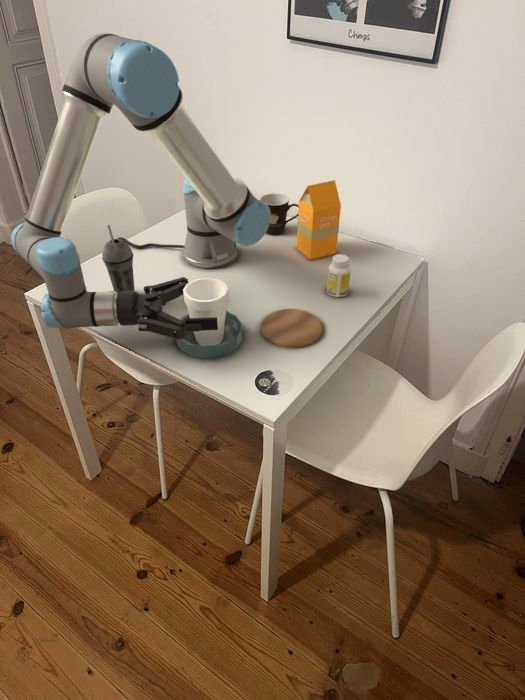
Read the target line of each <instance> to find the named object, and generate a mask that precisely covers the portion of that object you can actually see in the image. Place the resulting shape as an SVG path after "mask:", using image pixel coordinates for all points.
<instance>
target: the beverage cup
mask: <svg viewBox="0 0 525 700" xmlns="http://www.w3.org/2000/svg"><path fill="white" fill-rule="evenodd" d="M107 229H108V233H109V237H110V240H109V241H107V242H106V243H105V244H104V246H103V248H102V254H101V256H102V257H101V259H102V261H103V263H104V266H105V267H106V270H107V273H108V277H109V279H110V282H111V286H112V290H113V291H116V292H117V294H118V292H119V291H136V290H135V279H134V267H133V263H134V253H133V250H132V248H131V246H130V245H129V244H127V243H126V242H125V241H123V240H120V239H117V238H114V235H113V231H112V228H111V225H110V224H107Z"/></svg>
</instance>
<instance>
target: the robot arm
mask: <svg viewBox="0 0 525 700" xmlns="http://www.w3.org/2000/svg"><path fill="white" fill-rule="evenodd" d="M179 79H180V78H179V74H178V70H177V68H176V66H175V64H174V62H173V61H172V59H171V57H169V55H168V54H166V52H164V51H163V50H162V49H160V48H159V47H158V46H155V45H153V44H152V43H149V42H147V41H143V40H139V39H132V38H128V37H124V36H120V35H118V34H114V33H107V32H106V33H99V34H95V35H92V36H91V37H90V38H88V39H86V41H85V42H84V43H83V44H82V45H81V46H80V48H79V49H78V50H77V52H76V54H75V56H74V58H73V60H72V62H71V64H70V67H69V69H68V72H67V75H66V77H65V81H64V84H63V87H62V90H61V95H62V96H63V99H64V101H63V102H64V103H63V104H62V107H61V110H60V114H59V116H58V120H57V123H56V125H55V129H54V131H53V135H52V138H51V141H50V143H49V147H48V150H47V153H46V156H45V159H44V162H43V165H42V168H41V171H40V175H39V177H38V181H37V183H36V187H35V190H34V192H33V195H32V199H31V200H30V201H31V202H30V205H29V208H28V210H27V213H26V217H25V220H24V222H22V223H19V224H18V225H17V226H16V227H15V228H14V229H13V230H12V232H11V235H10V242H11V245H12V247H13V249H14V250H15V251H16V252H17V254H18V256H19V257H20V258H21V259H23V260H24V261H26V262H27V263H28V264H29V265H30V267H31V268H32V269H34V271H35V272H36V273H37V274H38V275H40V277H42V279H43V280H44V281H43V282H44V284H45V286H46V289H47V293H45V294H44V295H43V296H42V298H41V302H40V311H41V318H42V322H43V323H44V324H45V326H46V327H49V328H52V329H65V330H66V329H67V330H69V329H78V328H91V327H92V328H93V327H95V328H97V327H117V326H118V325H120V326H122V327H132V326H133V327H134V326H137V328H138V331H139V332H149V333H153V334H157V335H161V336H164V337H168V338H171V339H175V340H176V339H182V338H185V337H186V336H187V333H192V332H193V333H194V332H197V331H203V330H218V323H217V317H212V318H185V322H184V321H182V320H180V319H181V318H178V317H175V316H174V315H171V314H169V313H167V312H165V311H163V309H164V307H165V306H166V304H167V303H169V302H172V301H173V300H175V299H178V298H180V297H182V296H184V294H183V289H184V287H185V286H186V284H188V283H189V279H188V278H186V277H184V276H182V277H178V278H176V279H171V280H167V281H164V282H159V283H157V284H153V285H145V286H144V287H143V292H144V293H143V294H138V293H137V291H136V290H134V291H119V292H118V294H117V292H116V291H114V290H106V291H105V290H104V291H87V287H86V283H85V278H84V273H83V269H82V265H81V258H80V254H79V253H78V250H77V247H76V245H75V243H74V242H73V241H72V240H71V239H69V238H64V237H61V235H62V231H63V229H64V226H65V224H66V221H67V218H68V216H69V212H70V210H71V207H72V204H73V201H74V198H75V195H76V193H77V190H78V188H79V185H80V182H81V179H82V176H83V174H84V170H85V168H86V164H87V162H88V159H89V156H90V153H91V151H92V149H93V145H94V142H95V140H96V137H97V134H98V131H99V128H100V125H101V123H102V120H103V119H104V118H106V117H109V116H110V113H111V111H112V108H113V107H114V106H115V107H116V108H117V109H118V110H120V112H121V113H122V115H123V116H124V117H125V118H126V119H127V120H128V122H129V123H130V124H131V125H132V127H133V128H134V129H135V130H136V131H138V132H139V133H140V132H141V133H148V134H149V135H150V136H151V138H152V139H153V140H154V141H155V142H156V144H157V145H158V146H159V147H160V149H161V150H162V151H163V153H165V156H167V157H168V159H169V160H170V161H171V162H172V164H173V165H174V166H175V167H176V168H177V170H178V171H179V172H180V173H181V174H182V176H183V177H184V178H185V179H184V180H183V183H182V184H183V185H182V188H183V189H182V195H183V200H184V210H185V220H186V231H187V232H186V236H185V241H184V244H161V243H160V244H159V243H154V242H153V243H149V242H148V243H145V244H141V245H140V244H135V243H133V242H130V240H128V239H126V238H124V237H117V238H116V239H120V240H123V241H125V242H126V243H127V244H128V245H129V246H130V247H132V248H134V249H135V248H136V249H145V248H148V247H154V248H155V247H156V248H168V249H169V248H170V249H171V248H174V249H182V257H183V260H184V261H185V262H186V264H188V265H190V266H192V267H195V268H199V269H200V268H201V269H217V268H222V267H226V266H228V265H230V264H232V263H233V262H235V260H236V259H237V257H238V246H237V245H240V246H242V247H250V246H253V245H256V244H257V243H258V242H259V241H261V240H262V239H263V237H264V236H265V235H266V231H267V229H268V227H269V223H270V219H271V212H270V209H269V207H268V205H267V204H265V203H264V202H263V201H262V200H260V199H258V198H256V197H255V195H254V194H253V193H252V191H251V190H250V189H249V187H248V186H247V185H246V183H245V182H244V181H243V180H242V179H240V178H237V177H233V176H232V174H231V173H230V172H229V170H228V168H227V167H226V165H225V164H224V163H223V161H222V159H221V158H220V157H219V155H218V154H217V153H216V152H215V150H214V149H213V147H212V145H210V143H209V142H208V140H207V138H206V137H205V136H204V134H203V133H202V131H201V130H200V129H199V127H198V126H197V124H196V123H195V121H194V120H193V119H192V117H191V116H190V115H189V113H188V111H187V110H186V109H185V107H184V106H183V104H182V103H183V96H184V94H183V91H182V89H181V88H180V86H179V82H180V80H179ZM175 331H176V333H175Z"/></svg>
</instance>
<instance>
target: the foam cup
mask: <svg viewBox="0 0 525 700" xmlns="http://www.w3.org/2000/svg"><path fill="white" fill-rule="evenodd" d="M183 294H184V295H183V300H184V305H185V306H186V308H187V313H188V314H189V316H190V318H212V317H217V323H218V330H203V331H197V332H193V334H194V338H195V342H196V343H197V345H201V346H209V345H217V344H220V343H223V339H224V337H225V335H224V334H225V327H226V326H225V325H226V323H225V317H226V311H227V305H228V300H229V288H228V286H227V283H226V282H224V281H223V280H221V279H218V278H213V277H200V278H197V279H193V280H191V281H188V284H186V286H185V287H184V289H183Z"/></svg>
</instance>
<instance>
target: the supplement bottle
mask: <svg viewBox="0 0 525 700" xmlns="http://www.w3.org/2000/svg"><path fill="white" fill-rule="evenodd" d="M349 262H350V257H349V256H348V255H346V254H342V253H340V254H335V255H333V256H332V260H331V264H330V265H329V266H328V273H327V283H326V285H327V286H326V292H327V294H328V295H330V296H331V297H335V298H342V297H346V296H347V295H348V293H349V287H350V278H351V271H352V270H351V266H350V264H349Z"/></svg>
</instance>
